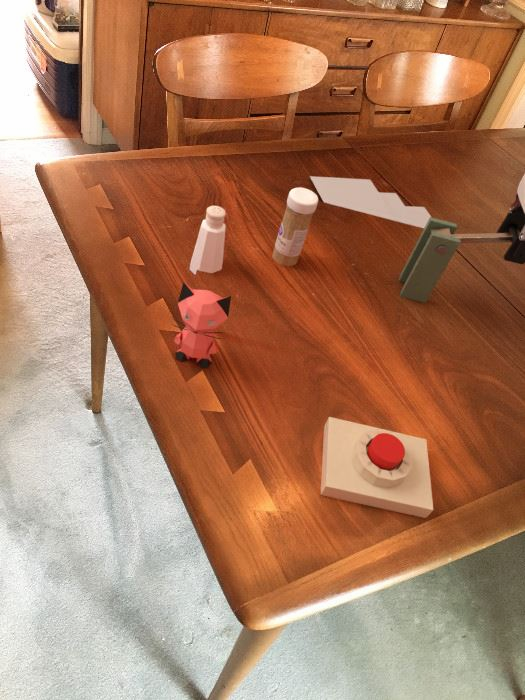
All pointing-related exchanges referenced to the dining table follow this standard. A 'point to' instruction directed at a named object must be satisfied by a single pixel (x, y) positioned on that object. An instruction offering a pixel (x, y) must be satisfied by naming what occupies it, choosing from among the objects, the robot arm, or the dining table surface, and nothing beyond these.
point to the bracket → (428, 260)
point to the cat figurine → (200, 323)
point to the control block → (374, 470)
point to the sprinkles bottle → (294, 226)
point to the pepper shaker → (210, 242)
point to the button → (386, 451)
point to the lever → (483, 235)
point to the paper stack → (368, 200)
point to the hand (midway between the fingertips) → (509, 247)
